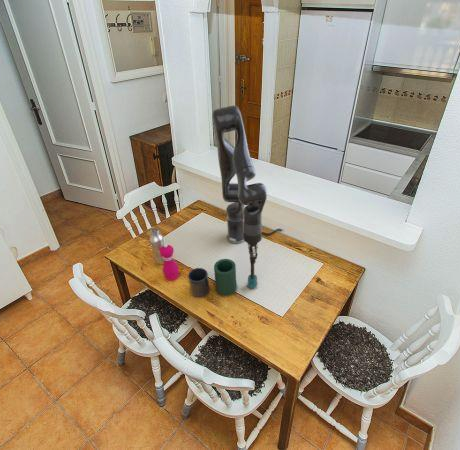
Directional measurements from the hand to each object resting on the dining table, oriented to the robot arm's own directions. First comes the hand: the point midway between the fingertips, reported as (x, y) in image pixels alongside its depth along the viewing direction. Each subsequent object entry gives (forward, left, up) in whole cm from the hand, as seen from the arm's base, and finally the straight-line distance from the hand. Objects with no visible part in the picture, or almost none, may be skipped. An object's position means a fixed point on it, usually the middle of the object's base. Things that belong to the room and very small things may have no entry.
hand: (252, 261), depth 136 cm
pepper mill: (+25, -30, -16) cm, 42 cm away
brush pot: (+20, -14, -16) cm, 29 cm away
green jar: (+10, -7, -16) cm, 20 cm away
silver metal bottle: (+24, -42, -16) cm, 51 cm away
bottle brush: (0, 0, -15) cm, 15 cm away
